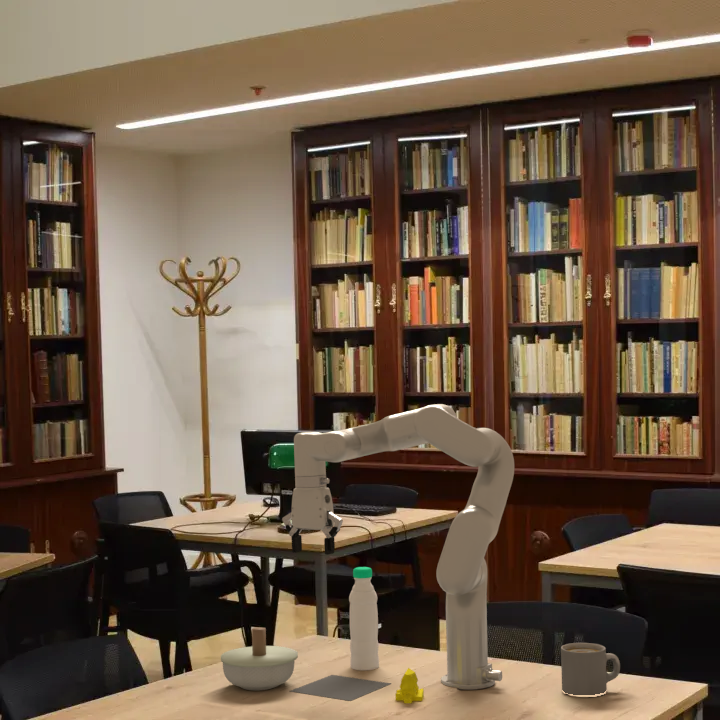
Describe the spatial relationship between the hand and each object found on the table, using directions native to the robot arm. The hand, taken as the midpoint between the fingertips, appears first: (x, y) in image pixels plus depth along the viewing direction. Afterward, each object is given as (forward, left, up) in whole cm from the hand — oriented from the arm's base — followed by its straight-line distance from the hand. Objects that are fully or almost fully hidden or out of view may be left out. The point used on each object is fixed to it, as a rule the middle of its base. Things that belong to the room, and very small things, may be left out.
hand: (313, 552), depth 288 cm
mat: (-13, +8, -30) cm, 34 cm away
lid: (+5, +16, -23) cm, 28 cm away
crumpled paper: (-32, +8, -30) cm, 45 cm away
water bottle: (-7, -11, -30) cm, 33 cm away
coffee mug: (-64, -18, -30) cm, 73 cm away
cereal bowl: (+5, +16, -30) cm, 34 cm away
